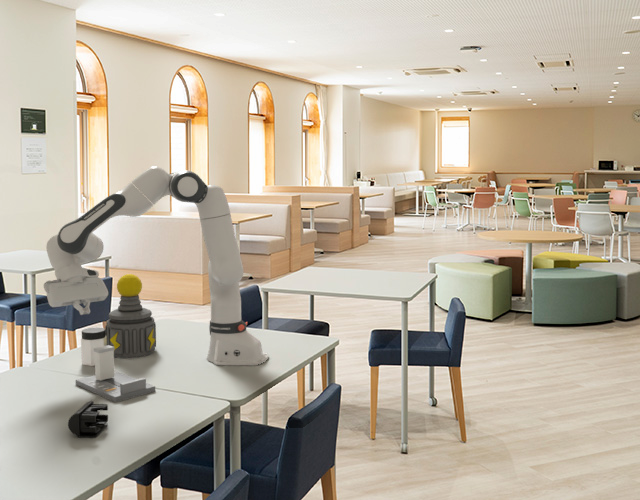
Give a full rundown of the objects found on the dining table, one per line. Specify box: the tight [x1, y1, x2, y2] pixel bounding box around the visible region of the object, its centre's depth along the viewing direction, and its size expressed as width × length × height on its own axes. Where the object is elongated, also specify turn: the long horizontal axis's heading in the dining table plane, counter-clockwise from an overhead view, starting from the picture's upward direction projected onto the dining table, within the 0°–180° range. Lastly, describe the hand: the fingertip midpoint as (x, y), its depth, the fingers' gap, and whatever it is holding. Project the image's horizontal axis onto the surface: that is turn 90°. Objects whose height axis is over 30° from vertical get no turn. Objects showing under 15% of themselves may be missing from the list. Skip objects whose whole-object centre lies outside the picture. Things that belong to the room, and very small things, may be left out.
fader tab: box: [94, 345, 115, 380], centre depth 218 cm, size 3×5×10 cm, turn 137°
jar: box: [80, 327, 107, 367], centre depth 242 cm, size 9×8×12 cm
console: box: [75, 370, 156, 403], centre depth 215 cm, size 24×14×5 cm, turn 47°
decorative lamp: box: [104, 273, 157, 359], centre depth 255 cm, size 19×19×30 cm
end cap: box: [67, 400, 109, 439], centre depth 180 cm, size 10×7×7 cm
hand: (85, 313), depth 224 cm, fingers closed
